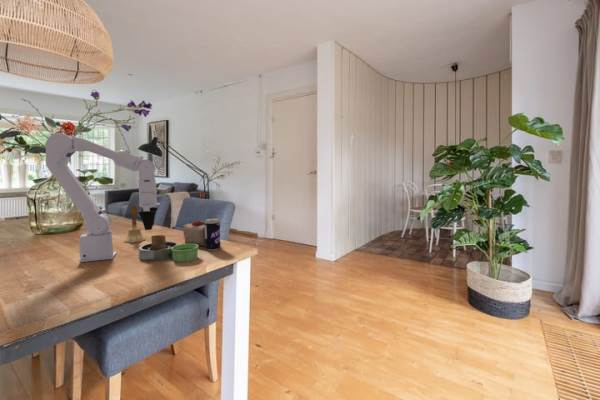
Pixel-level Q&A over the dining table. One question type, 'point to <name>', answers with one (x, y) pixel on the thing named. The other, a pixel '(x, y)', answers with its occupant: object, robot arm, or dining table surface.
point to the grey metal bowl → (156, 252)
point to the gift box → (195, 233)
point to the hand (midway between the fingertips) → (149, 227)
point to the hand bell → (134, 229)
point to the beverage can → (212, 234)
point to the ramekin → (185, 252)
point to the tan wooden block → (158, 242)
